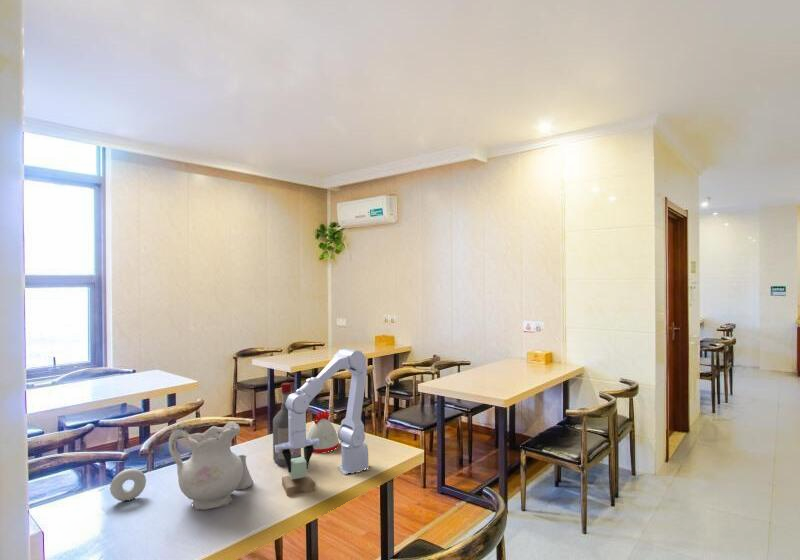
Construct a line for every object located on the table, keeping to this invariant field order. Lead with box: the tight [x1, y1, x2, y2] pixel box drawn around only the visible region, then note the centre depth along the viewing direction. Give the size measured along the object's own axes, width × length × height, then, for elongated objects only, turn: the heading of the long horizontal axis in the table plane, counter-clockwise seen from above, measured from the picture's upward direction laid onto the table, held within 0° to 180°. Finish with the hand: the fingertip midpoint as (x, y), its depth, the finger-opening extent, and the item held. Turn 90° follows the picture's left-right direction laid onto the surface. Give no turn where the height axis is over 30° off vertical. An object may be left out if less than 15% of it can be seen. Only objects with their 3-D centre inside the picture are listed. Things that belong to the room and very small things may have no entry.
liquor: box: [272, 382, 302, 467], centre depth 177 cm, size 9×9×30 cm
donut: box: [109, 468, 147, 502], centre depth 147 cm, size 10×3×10 cm, turn 124°
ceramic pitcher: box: [168, 420, 243, 511], centre depth 145 cm, size 22×20×25 cm
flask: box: [235, 454, 254, 491], centre depth 157 cm, size 7×7×10 cm
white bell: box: [306, 409, 339, 454], centre depth 192 cm, size 14×14×15 cm
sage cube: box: [288, 456, 308, 479], centre depth 155 cm, size 5×5×5 cm
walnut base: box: [281, 471, 315, 497], centre depth 155 cm, size 9×9×3 cm
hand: (297, 469), depth 154 cm, fingers closed on sage cube, 5 cm apart
